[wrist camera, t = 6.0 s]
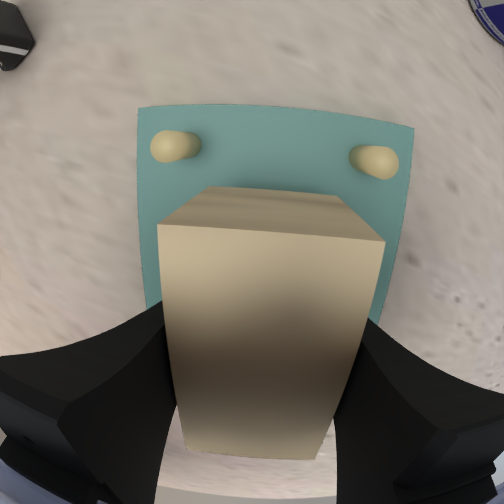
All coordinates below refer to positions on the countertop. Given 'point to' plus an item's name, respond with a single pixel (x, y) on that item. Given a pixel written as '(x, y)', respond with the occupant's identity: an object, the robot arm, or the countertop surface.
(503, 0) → the energy drink
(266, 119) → the plate
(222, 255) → the oak bar
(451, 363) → the countertop surface
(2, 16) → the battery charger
